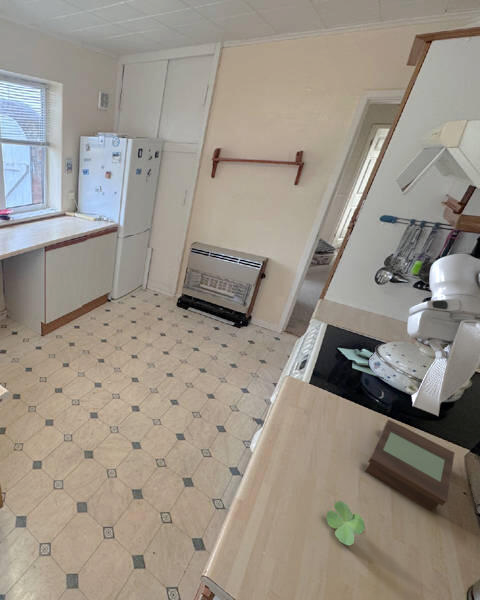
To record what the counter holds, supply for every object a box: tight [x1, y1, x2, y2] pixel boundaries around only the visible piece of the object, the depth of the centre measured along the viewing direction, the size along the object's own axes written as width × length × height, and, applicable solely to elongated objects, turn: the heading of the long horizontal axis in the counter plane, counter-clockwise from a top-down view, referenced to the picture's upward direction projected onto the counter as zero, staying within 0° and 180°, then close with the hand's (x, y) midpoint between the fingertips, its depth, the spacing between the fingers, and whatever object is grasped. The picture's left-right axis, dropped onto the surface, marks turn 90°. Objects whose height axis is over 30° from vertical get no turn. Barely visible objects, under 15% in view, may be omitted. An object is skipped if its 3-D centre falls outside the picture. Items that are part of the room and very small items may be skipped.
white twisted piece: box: [411, 320, 480, 417], centre depth 83 cm, size 8×8×28 cm
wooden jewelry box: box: [364, 419, 455, 512], centre depth 86 cm, size 22×14×5 cm, turn 129°
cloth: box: [337, 347, 379, 378], centre depth 130 cm, size 20×22×2 cm
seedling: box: [326, 500, 366, 546], centre depth 71 cm, size 7×8×7 cm
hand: (460, 361), depth 82 cm, fingers closed on white twisted piece, 6 cm apart
